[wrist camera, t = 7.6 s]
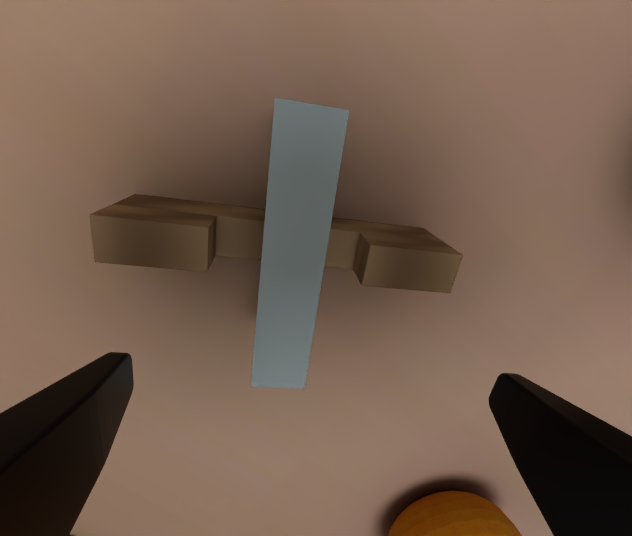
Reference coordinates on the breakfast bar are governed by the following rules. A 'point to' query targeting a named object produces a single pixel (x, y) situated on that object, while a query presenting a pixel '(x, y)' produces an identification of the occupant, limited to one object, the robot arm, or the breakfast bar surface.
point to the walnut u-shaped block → (247, 241)
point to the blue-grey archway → (295, 237)
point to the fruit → (453, 517)
